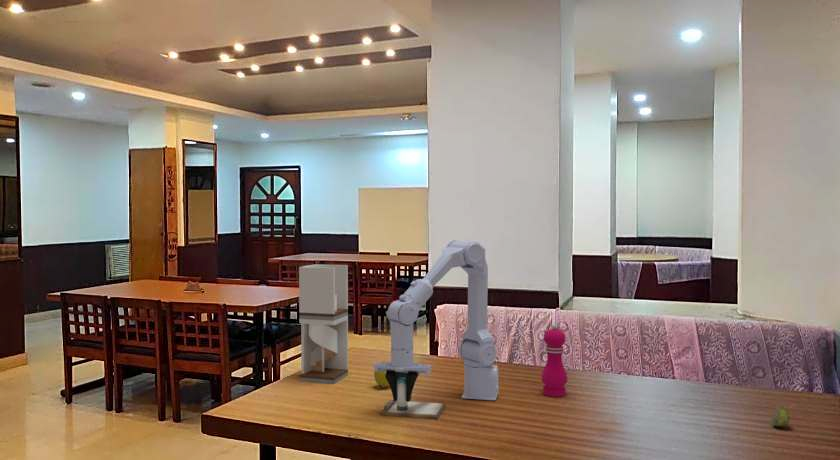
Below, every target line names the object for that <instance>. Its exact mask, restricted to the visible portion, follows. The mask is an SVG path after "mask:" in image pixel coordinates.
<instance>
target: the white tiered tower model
mask: <svg viewBox="0 0 840 460" xmlns="http://www.w3.org/2000/svg"><path fill="white" fill-rule="evenodd" d="M348 266H349V265H348V264H310V265H303V266H299V267H298V287H299V289H298V290H299V291H298V299H299V300H298V303H299V304H298V307H299V309H298V310H299V311H298V312H299V315H298V317H299V321H298V322H299V324H300V325H301V326H300V331H301V332H300V333H301V335H300V338H301V339H300V340H301V341H300V342H301V346H300V349H301V350H300V351H301V352H300V353H301V354H300V355H301V357H300V358H301V363H300V364H301V371H300V372H301V373H300V374H299V382H304V383H317V384H328V385H329V384H330V385H335V384H337V383H338V382H340V381H341V380H343V379H345V378H346V377H348V376H349V304H348V303H349V291H348V289H349V288H348V287H349V282H348V281H349V279H348V278H349V275H348V274H349V273H348V272H349V271H348V270H349V267H348Z"/></svg>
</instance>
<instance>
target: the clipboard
mask: <svg viewBox="0 0 840 460" xmlns="http://www.w3.org/2000/svg"><path fill="white" fill-rule="evenodd" d="M446 407H447V403H441V402H427V401H425V402H424V401H413V400H410V401H409V402H408V409H407V410H397V400H396V401H394V400H393V399H391V400H390V399H389V400H388V401H387V402H386V403H385V404H384V406H383V409H381V410H380V412H379V415H380V416H388V417H400V418H401V417H402V418H403V417H404V418H416V419H429V420H438V419H439V418H440V416H441V415H442V413H443V411H444V410H445V408H446Z"/></svg>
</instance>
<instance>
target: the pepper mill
mask: <svg viewBox="0 0 840 460" xmlns="http://www.w3.org/2000/svg"><path fill="white" fill-rule="evenodd" d="M558 328H559V326H558V324H557V323H552V325H551V329H547V330H546V332H545V333H544V336H543V341H544V343H545V344H546V346H545V352H546V353H547V354H546V355H547V358H546V363H545V366H544V368H543V370H542V373H541V382H542V383H543V387H542V393H543V395H545V396H548V397H554V398H558V397H564V396H566V393H567V392H566V387H565V385H566V384H567V383H568V374H567V371H566V369H565V367H564V364H563V360H562V359H563V358H562V357H563V353H564V351H565V350H564V348H565V347H564V346H563V345H564V344H565V343H566V334H565V333H564V332H563V331H562V330H561V329H558Z"/></svg>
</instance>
